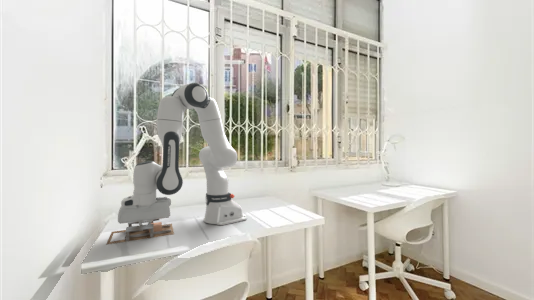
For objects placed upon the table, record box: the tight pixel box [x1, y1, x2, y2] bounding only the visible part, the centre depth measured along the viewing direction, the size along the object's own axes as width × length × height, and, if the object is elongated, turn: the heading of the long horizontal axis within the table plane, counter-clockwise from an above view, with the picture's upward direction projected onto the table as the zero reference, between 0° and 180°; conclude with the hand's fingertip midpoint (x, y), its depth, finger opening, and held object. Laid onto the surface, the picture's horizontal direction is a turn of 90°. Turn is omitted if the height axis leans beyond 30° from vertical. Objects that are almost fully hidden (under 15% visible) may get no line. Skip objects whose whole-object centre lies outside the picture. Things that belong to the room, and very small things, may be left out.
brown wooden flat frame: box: [105, 220, 175, 246], centre depth 102 cm, size 24×14×6 cm, turn 116°
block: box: [149, 221, 163, 233], centre depth 105 cm, size 5×5×3 cm
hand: (145, 230), depth 103 cm, fingers closed
